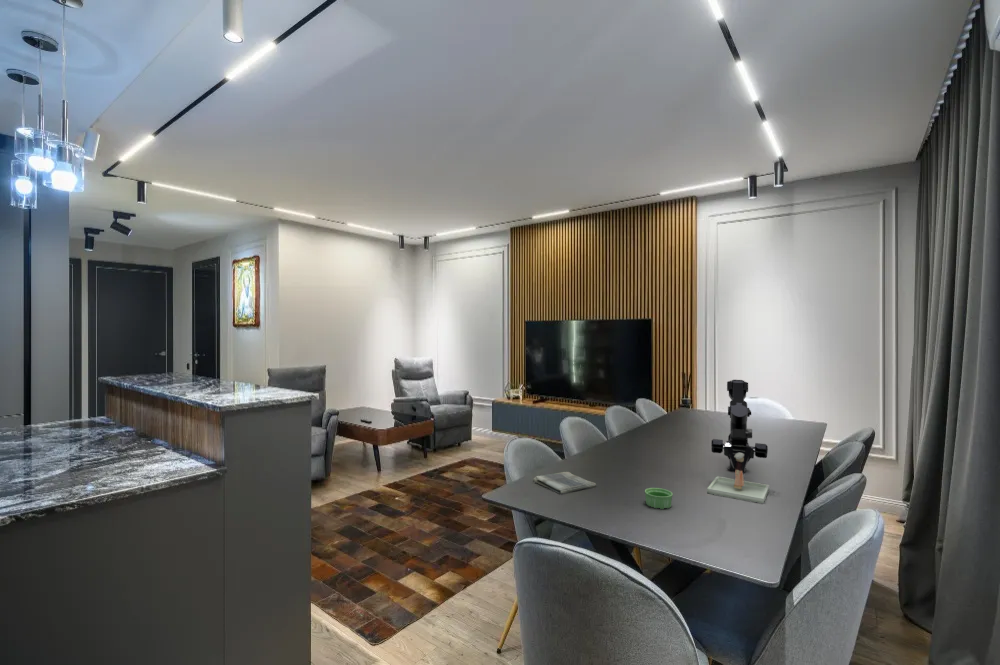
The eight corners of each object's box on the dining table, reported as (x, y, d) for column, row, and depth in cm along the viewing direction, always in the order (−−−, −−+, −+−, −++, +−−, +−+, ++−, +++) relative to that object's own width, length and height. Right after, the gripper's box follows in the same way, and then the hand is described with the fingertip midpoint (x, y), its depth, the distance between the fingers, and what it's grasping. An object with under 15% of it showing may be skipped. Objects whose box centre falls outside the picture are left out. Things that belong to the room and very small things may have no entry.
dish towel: (598, 488, 180) (598, 479, 180) (560, 496, 171) (560, 487, 171) (566, 475, 196) (566, 467, 196) (530, 482, 187) (530, 473, 186)
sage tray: (716, 480, 189) (716, 476, 189) (769, 489, 178) (769, 485, 178) (707, 493, 174) (707, 488, 174) (763, 504, 164) (763, 498, 164)
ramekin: (638, 502, 164) (639, 489, 164) (660, 499, 168) (660, 486, 168) (656, 511, 156) (656, 498, 156) (678, 508, 159) (678, 494, 159)
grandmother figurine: (745, 490, 172) (747, 455, 172) (733, 489, 173) (735, 454, 173) (742, 484, 179) (744, 450, 179) (730, 482, 181) (733, 449, 180)
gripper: (711, 417, 183) (710, 453, 174) (767, 422, 176) (769, 460, 166) (712, 434, 191) (711, 469, 181) (765, 439, 183) (767, 476, 173)
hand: (738, 468), depth 175 cm, fingers closed on grandmother figurine, 3 cm apart
